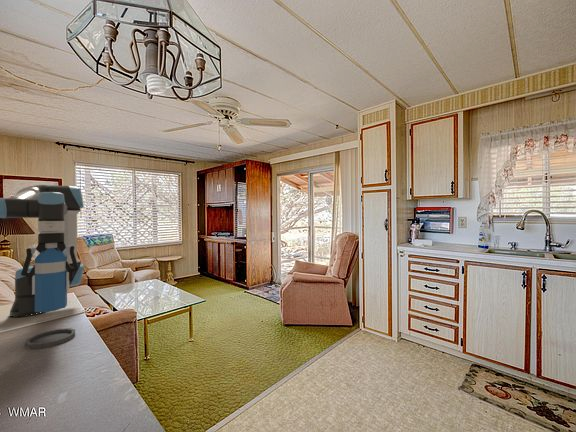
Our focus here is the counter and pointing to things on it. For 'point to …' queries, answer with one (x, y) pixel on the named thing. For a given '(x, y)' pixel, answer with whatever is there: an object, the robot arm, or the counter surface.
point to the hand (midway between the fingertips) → (51, 291)
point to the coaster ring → (50, 338)
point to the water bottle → (50, 279)
